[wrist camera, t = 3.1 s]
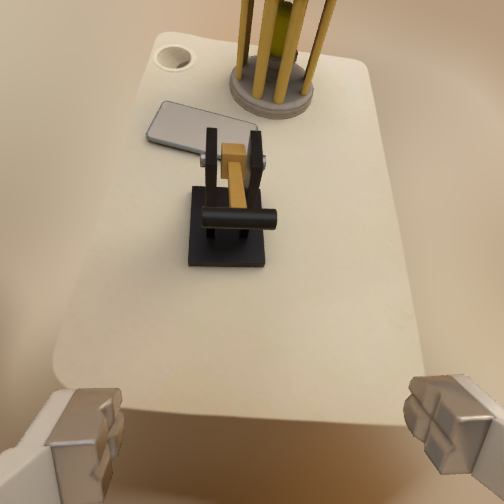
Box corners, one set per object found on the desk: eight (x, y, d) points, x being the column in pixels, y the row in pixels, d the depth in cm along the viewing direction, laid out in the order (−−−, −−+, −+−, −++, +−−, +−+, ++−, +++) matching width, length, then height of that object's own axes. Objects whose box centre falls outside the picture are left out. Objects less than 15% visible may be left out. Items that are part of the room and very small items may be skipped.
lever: (274, 239, 21) (279, 209, 20) (201, 237, 21) (201, 206, 19) (256, 168, 31) (259, 144, 29) (206, 165, 30) (206, 141, 29)
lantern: (260, 129, 48) (303, -108, 26) (214, 75, 53) (217, -166, 30) (327, 104, 53) (412, -115, 31) (280, 56, 57) (324, -164, 35)
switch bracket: (263, 267, 37) (290, 199, 25) (188, 266, 36) (178, 194, 24) (259, 194, 42) (279, 107, 30) (192, 191, 41) (185, 100, 29)
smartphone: (247, 163, 43) (143, 136, 43) (247, 168, 44) (144, 141, 44) (259, 123, 47) (163, 98, 47) (258, 128, 48) (164, 104, 48)
